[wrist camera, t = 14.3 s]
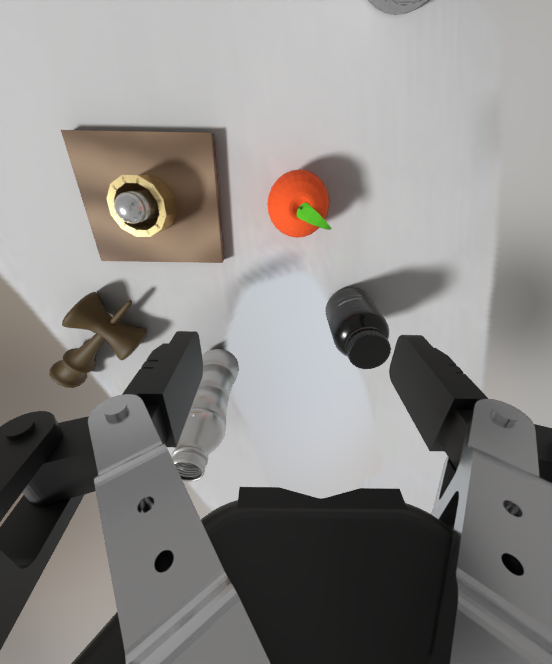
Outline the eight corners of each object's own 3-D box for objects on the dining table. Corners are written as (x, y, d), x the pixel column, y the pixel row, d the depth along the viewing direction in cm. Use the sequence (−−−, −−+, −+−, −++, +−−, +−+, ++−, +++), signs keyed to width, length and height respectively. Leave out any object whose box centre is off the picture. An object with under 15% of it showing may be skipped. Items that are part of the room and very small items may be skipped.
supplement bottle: (345, 277, 39) (370, 314, 28) (379, 302, 40) (415, 346, 30) (315, 312, 41) (327, 358, 31) (348, 334, 43) (370, 385, 33)
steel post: (134, 189, 32) (104, 192, 26) (160, 189, 32) (135, 193, 26) (140, 216, 33) (112, 225, 28) (165, 217, 33) (142, 226, 28)
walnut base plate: (70, 131, 30) (60, 130, 29) (213, 134, 30) (211, 132, 29) (107, 257, 37) (101, 260, 36) (224, 259, 37) (222, 262, 36)
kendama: (50, 347, 45) (110, 268, 38) (104, 379, 49) (167, 312, 42) (22, 371, 40) (84, 285, 33) (84, 404, 44) (152, 333, 37)
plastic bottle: (240, 375, 48) (220, 490, 30) (202, 373, 47) (159, 488, 30) (240, 344, 44) (216, 453, 27) (198, 342, 44) (148, 451, 27)
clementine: (342, 197, 33) (357, 202, 27) (310, 246, 36) (316, 260, 30) (287, 157, 31) (290, 152, 25) (258, 212, 34) (254, 220, 28)
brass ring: (119, 174, 31) (99, 174, 27) (172, 175, 31) (159, 175, 27) (132, 230, 34) (116, 236, 30) (181, 230, 34) (170, 236, 31)
